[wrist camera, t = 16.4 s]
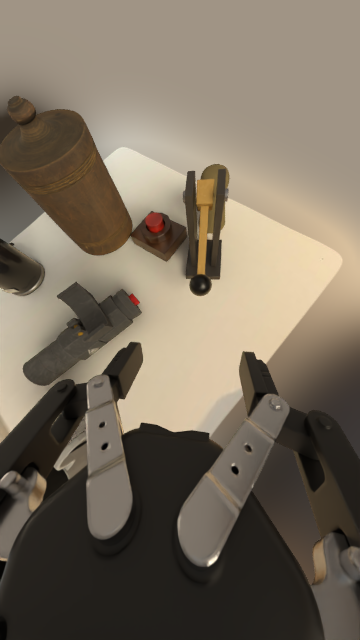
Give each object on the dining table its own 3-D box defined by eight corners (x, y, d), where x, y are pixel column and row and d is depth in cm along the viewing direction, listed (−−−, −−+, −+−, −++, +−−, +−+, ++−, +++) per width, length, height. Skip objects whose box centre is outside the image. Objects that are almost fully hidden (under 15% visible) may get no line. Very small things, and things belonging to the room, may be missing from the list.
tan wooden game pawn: (214, 237, 38) (218, 188, 28) (193, 225, 40) (190, 174, 29) (230, 219, 39) (240, 165, 29) (209, 209, 41) (212, 153, 30)
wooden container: (120, 200, 45) (50, 55, 24) (141, 237, 41) (78, 99, 20) (71, 225, 45) (-42, 100, 24) (87, 266, 41) (-35, 155, 20)
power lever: (210, 295, 28) (211, 297, 24) (190, 294, 28) (187, 296, 25) (217, 190, 24) (219, 175, 21) (194, 191, 25) (192, 177, 21)
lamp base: (134, 243, 41) (126, 228, 36) (154, 220, 42) (149, 203, 38) (166, 261, 38) (162, 248, 34) (187, 236, 39) (185, 220, 35)
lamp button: (144, 228, 36) (141, 222, 35) (154, 217, 37) (152, 210, 35) (157, 235, 35) (155, 228, 34) (167, 223, 36) (165, 216, 34)
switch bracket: (219, 279, 35) (233, 208, 20) (186, 278, 36) (174, 210, 21) (221, 243, 38) (234, 155, 22) (189, 243, 39) (181, 159, 23)
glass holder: (59, 460, 29) (-76, 546, 15) (114, 392, 31) (41, 410, 17) (91, 503, 27) (-33, 654, 13) (148, 426, 29) (96, 480, 15)
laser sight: (43, 353, 35) (-15, 347, 26) (129, 288, 37) (104, 260, 28) (63, 393, 33) (5, 402, 23) (154, 320, 34) (136, 301, 25)
